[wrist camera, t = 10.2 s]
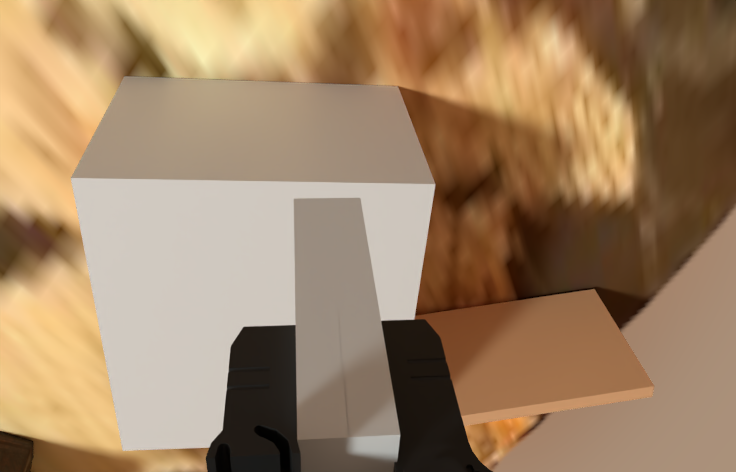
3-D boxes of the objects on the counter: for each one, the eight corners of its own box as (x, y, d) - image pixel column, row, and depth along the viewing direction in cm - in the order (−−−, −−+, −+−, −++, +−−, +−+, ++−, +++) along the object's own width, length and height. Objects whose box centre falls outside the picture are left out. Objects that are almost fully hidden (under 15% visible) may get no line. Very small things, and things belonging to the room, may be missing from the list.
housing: (124, 76, 38) (70, 177, 29) (397, 86, 41) (435, 184, 31) (157, 332, 49) (126, 470, 40) (371, 330, 52) (392, 459, 42)
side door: (594, 288, 51) (654, 386, 43) (591, 310, 52) (649, 409, 44) (375, 321, 51) (393, 426, 42) (377, 342, 52) (395, 448, 44)
